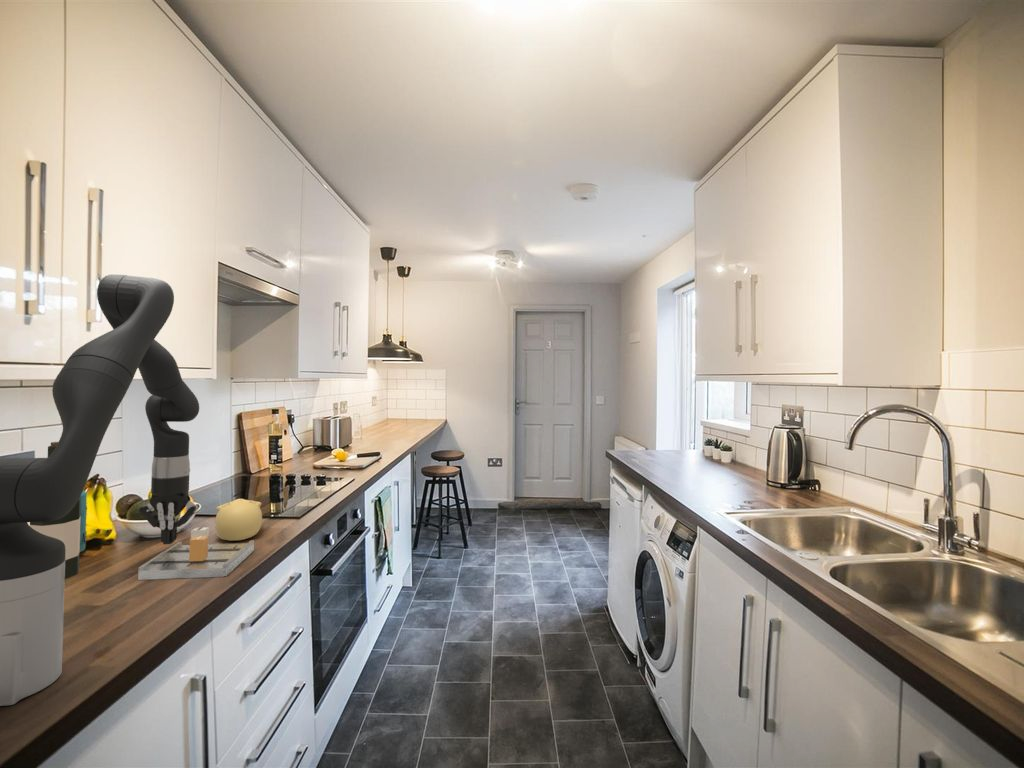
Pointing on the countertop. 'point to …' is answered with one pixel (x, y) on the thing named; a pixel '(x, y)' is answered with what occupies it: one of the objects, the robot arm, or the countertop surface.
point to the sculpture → (238, 519)
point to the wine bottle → (64, 532)
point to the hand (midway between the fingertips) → (168, 543)
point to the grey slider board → (195, 562)
